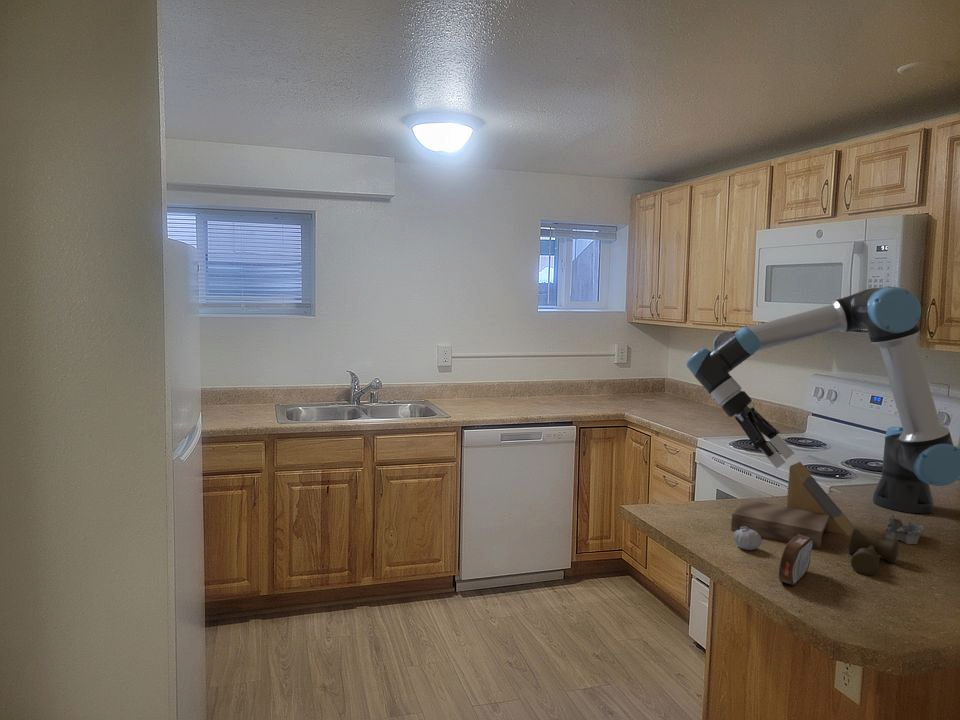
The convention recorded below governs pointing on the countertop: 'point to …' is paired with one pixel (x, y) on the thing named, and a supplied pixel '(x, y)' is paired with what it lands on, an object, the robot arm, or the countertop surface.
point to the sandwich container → (814, 499)
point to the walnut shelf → (780, 521)
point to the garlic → (747, 538)
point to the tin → (795, 559)
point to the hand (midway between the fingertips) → (786, 460)
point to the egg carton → (902, 531)
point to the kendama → (870, 552)
